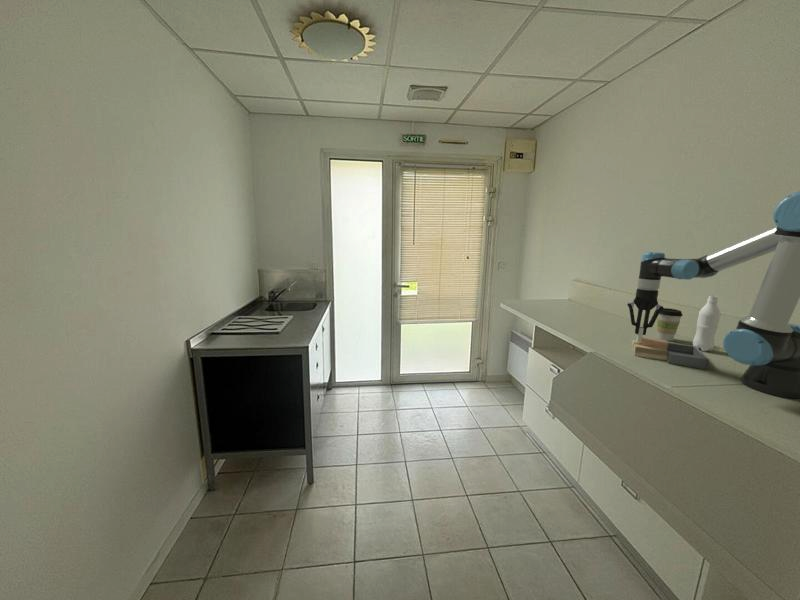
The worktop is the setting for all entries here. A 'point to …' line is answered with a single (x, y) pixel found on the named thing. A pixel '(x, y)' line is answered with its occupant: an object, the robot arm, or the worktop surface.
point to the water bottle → (707, 325)
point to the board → (649, 351)
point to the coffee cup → (668, 323)
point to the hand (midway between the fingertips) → (638, 341)
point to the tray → (686, 356)
